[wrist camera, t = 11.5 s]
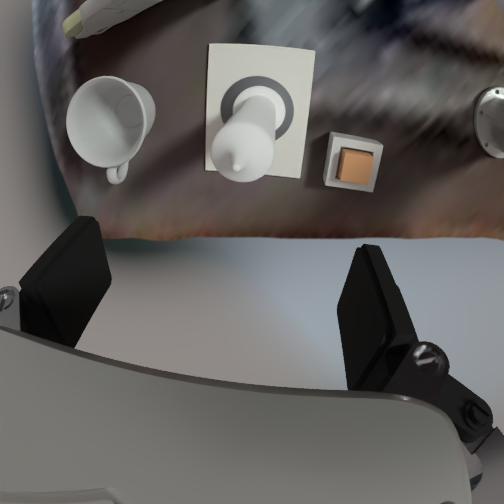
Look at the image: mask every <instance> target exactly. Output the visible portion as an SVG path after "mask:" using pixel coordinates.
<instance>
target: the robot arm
mask: <svg viewBox="0 0 504 504" xmlns="http://www.w3.org/2000/svg"><path fill="white" fill-rule="evenodd" d="M474 128H475V133H476V136H477V139H478V141H479V143H480V145H481V146H482V148H483V149H484V150H485V151H486V152H487V153H488V154H490V155H492V156H494V157H496V158H504V88H503V87H499V86H494V87H491V88H489V89H487V90H485V91H484V92H483V93H482V95H481V96H480V98H479V99H478V102H477V104H476V108H475V112H474ZM111 280H112V278H111V273H110V269H109V265H108V261H107V257H106V253H105V249H104V245H103V240H102V236H101V231H100V226H99V223H98V221H96V220H95V218H94V217H91V216H79V217H78V218H77V219H76V220H75V221H74V222H73V223H72V224H71V225H70V226H69V227H68V228H67V229H66V230H65V231H64V232H63V233H62V234H61V235H60V236H59V237H58V238H57V239H56V240H55V241H54V242H53V243H52V244H51V245H50V247H49V248H48V249H47V250H46V251H45V252H44V253H43V254H42V255H41V257H40V258H39V259H38V260H37V261H36V262H35V263H34V264H33V266H32V267H31V268H30V269H29V270H28V271H27V273H26V274H25V275H24V276H23V277H22V279H21V280H20V281H19V284H20V286H21V288H22V289H21V291H20V292H19V291H18V290H17V288H15V287H13V286H7V287H3V288H1V289H0V504H504V435H503V434H502V432H501V431H500V430H499V428H498V427H495V428H493V427H492V423H493V415H492V411H491V409H490V407H489V405H488V404H487V403H486V402H485V401H484V400H483V399H481V398H480V397H479V396H477V395H476V394H474V393H473V392H472V391H471V390H469V389H468V388H467V387H465V386H464V385H463V384H461V383H460V382H459V381H457V380H456V379H454V378H453V377H452V376H450V375H449V374H448V373H449V368H450V365H449V360H448V357H447V355H446V354H445V352H444V351H443V350H442V349H441V348H440V347H439V346H437V345H435V344H433V343H431V342H427V341H422V342H419V340H418V338H417V334H416V332H415V329H414V326H413V323H412V321H411V318H410V315H409V312H408V310H407V307H406V305H405V302H404V299H403V297H402V294H401V292H400V289H399V287H398V286H397V285H396V283H395V281H394V278H393V276H392V274H391V271H390V269H389V267H388V264H387V262H386V260H385V257H384V255H383V253H382V251H381V248H380V247H379V246H376V245H368V244H363V245H362V246H361V248H359V247H358V248H357V249H356V251H355V254H354V257H353V260H352V264H351V267H350V270H349V273H348V276H347V279H346V282H345V285H344V288H343V291H342V293H341V296H340V299H339V302H338V305H337V316H338V322H339V329H340V335H341V342H342V349H343V356H344V364H345V372H346V379H347V388H348V390H321V389H304V388H288V387H276V386H265V385H254V384H245V383H237V382H229V381H222V380H214V379H208V378H202V377H195V376H189V375H183V374H178V373H172V372H167V371H162V370H157V369H152V368H148V367H143V366H138V365H134V364H130V363H126V362H122V361H117V360H114V359H110V358H106V357H102V356H98V355H95V354H91V353H88V352H84V351H80V350H77V349H74V348H75V346H76V344H77V342H78V341H79V339H80V337H81V335H82V333H83V331H84V330H85V328H86V326H87V324H88V322H89V321H90V319H91V317H92V315H93V313H94V312H95V310H96V308H97V307H98V305H99V303H100V301H101V300H102V298H103V296H104V295H105V293H106V291H107V290H108V288H109V287H110V285H111Z"/></svg>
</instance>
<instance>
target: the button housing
mask: <svg viewBox="0 0 504 504" xmlns="http://www.w3.org/2000/svg"><path fill="white" fill-rule="evenodd" d="M342 149H349V150H354V151H360V152H365V153H370V154H371V155H372V156H373V157H374V159H373V164H372V168H371V173H370V177H369V181H368V185H367V184H360V183H354V182H348V181H341V180H340V179H339V177H338V171H339V166H340V160H341V155H342ZM382 150H383V145H382V144H381V143H380V142H378V141H377V140H373V139H368V138H363V137H358V136H352V135H347V134H341V133H335V132H330V135H329V141H328V148H327V154H326V160H325V166H324V172H323V180H324V183H325V185H326V186H333V187H340V188H347V189H354V190H361V191H367V192H373V189H374V185H375V181H376V177H377V173H378V168H379V164H380V160H381V155H382Z"/></svg>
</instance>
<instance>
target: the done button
mask: <svg viewBox="0 0 504 504" xmlns="http://www.w3.org/2000/svg"><path fill="white" fill-rule="evenodd" d="M373 159H374V157H373V156H372V155H371V154H370V153H365V152H360V151H354V150H349V149H342V155H341V160H340V166H339V171H338V177H339V179H340V180H341V181H348V182H354V183H360V184H367V185H368V181H369V177H370V173H371V168H372V164H373Z"/></svg>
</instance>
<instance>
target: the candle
mask: <svg viewBox="0 0 504 504" xmlns="http://www.w3.org/2000/svg"><path fill="white" fill-rule="evenodd" d="M284 118H285V104H284V102H283V100H282V98H281V96H280V95H279V94H278V93H277V92H276V91H274V90H273V89H271V88H268V87H265V86H253V87H250V88H247V89H245V90H244V91H242V92H241V93H240V94H239V95H238V96H237V98H236V99H235V102H234V105H233V115H232V116H231V117H230V119H229V120H228V121H227V122H226V123H225V124H224V125H223V126H222V127H221V129H220V130H219V131H218V132H217V133H216V135H215V136H214V138H213V140H212V143H211V148H210V154H211V159H212V162H213V164H214V166H215V168H216V169H217V170H218V172H219V173H220V174H222V175H223V176H224V177H226V178H228V179H230V180H233V181H236V182H250V181H254V180H256V179H258V178H260V177H262V176H263V175H264V174H265V173H266V172H267V171H268V170H269V169H270V167H271V166H272V164H273V161H274V157H275V130H277V129H278V128H279V127H280V126H281V124H282V122H283V120H284Z"/></svg>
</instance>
